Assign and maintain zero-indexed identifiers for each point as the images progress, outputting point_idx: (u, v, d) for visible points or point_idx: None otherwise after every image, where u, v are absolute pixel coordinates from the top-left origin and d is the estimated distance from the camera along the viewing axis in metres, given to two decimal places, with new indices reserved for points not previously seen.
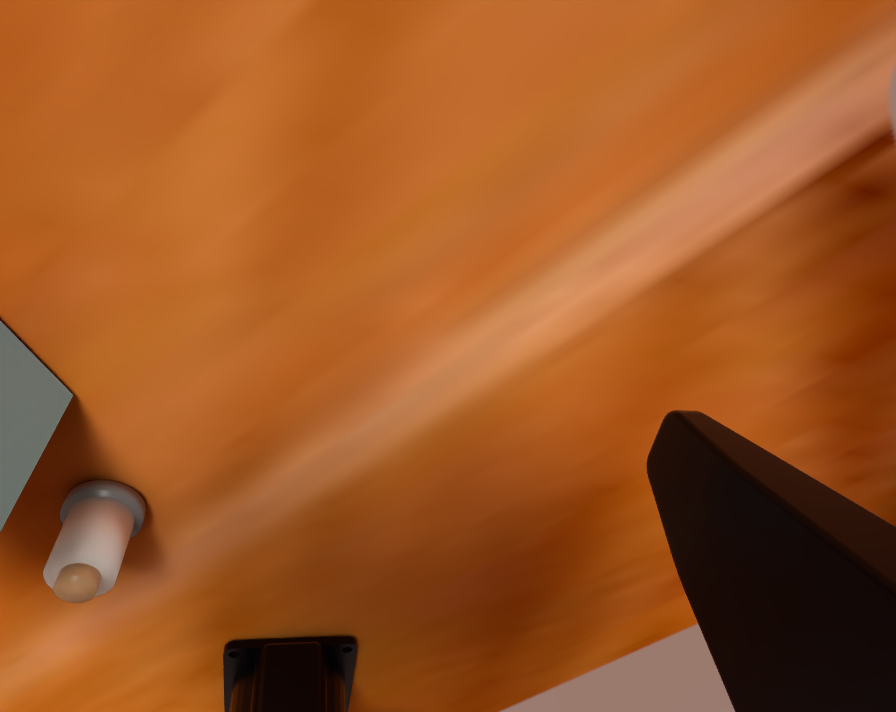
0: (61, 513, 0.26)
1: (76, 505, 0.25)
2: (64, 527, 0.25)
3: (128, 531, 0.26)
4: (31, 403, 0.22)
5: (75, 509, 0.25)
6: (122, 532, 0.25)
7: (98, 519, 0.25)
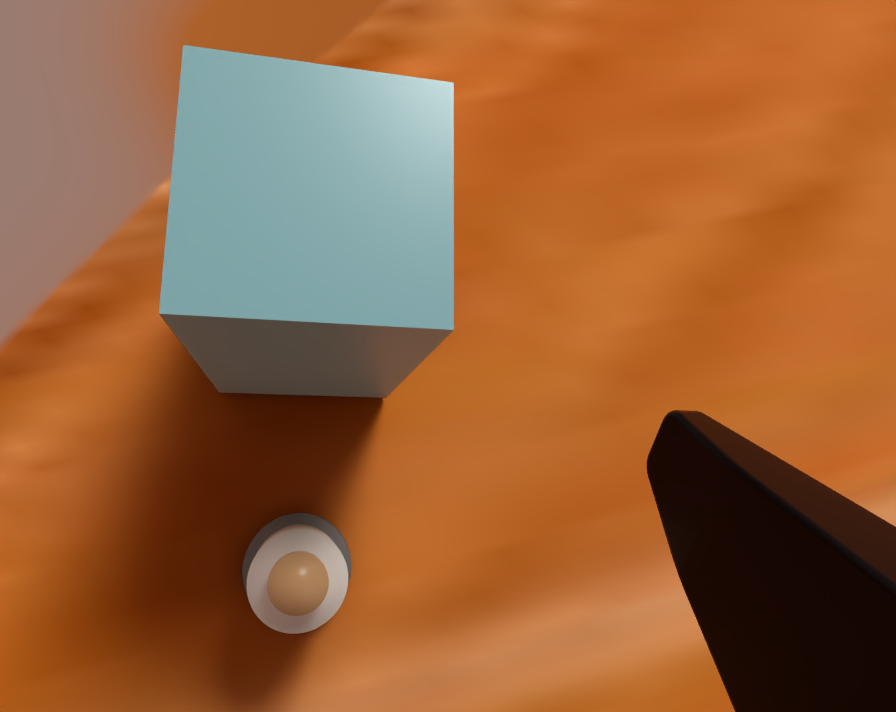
0: (260, 532, 0.19)
1: (294, 524, 0.19)
2: (287, 528, 0.18)
3: None
4: None
5: (297, 525, 0.18)
6: None
7: (331, 540, 0.18)
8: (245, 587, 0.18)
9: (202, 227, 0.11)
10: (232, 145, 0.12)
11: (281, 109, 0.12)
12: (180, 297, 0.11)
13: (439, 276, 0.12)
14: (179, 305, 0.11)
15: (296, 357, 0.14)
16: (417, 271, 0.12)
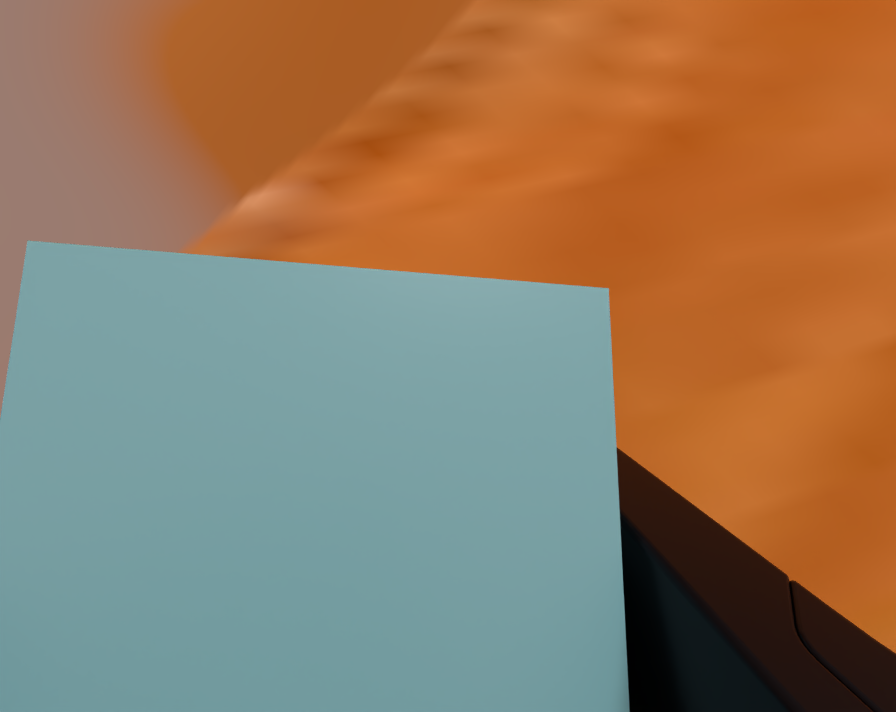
0: None
1: None
2: None
3: None
4: None
5: None
6: None
7: None
8: None
9: (47, 709, 0.05)
10: (132, 478, 0.05)
11: (249, 379, 0.05)
12: None
13: None
14: None
15: None
16: None
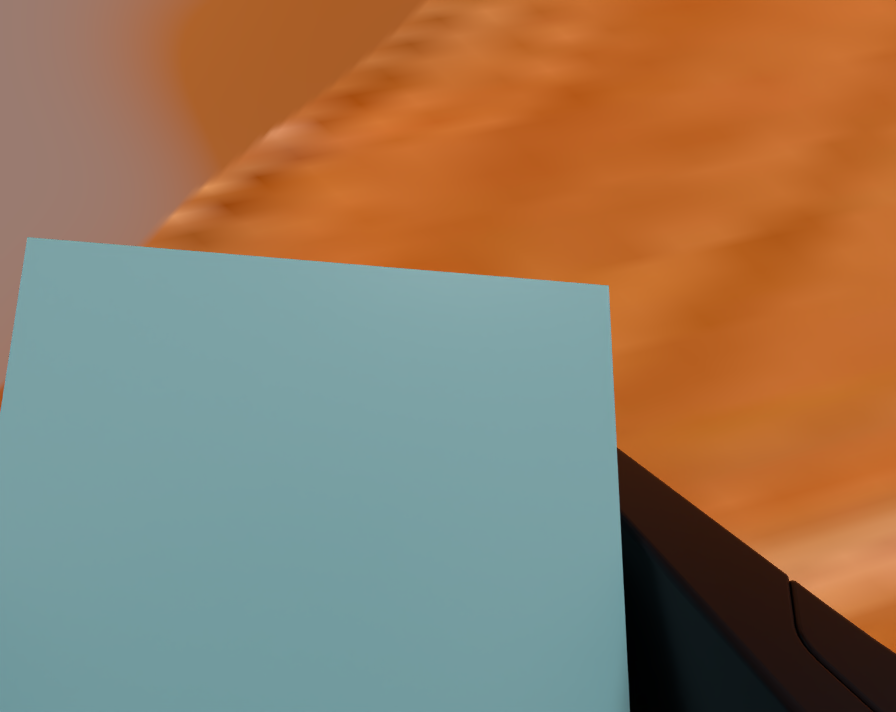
0: None
1: None
2: None
3: None
4: None
5: None
6: None
7: None
8: None
9: (47, 706, 0.05)
10: (132, 475, 0.05)
11: (250, 376, 0.05)
12: None
13: None
14: None
15: None
16: None
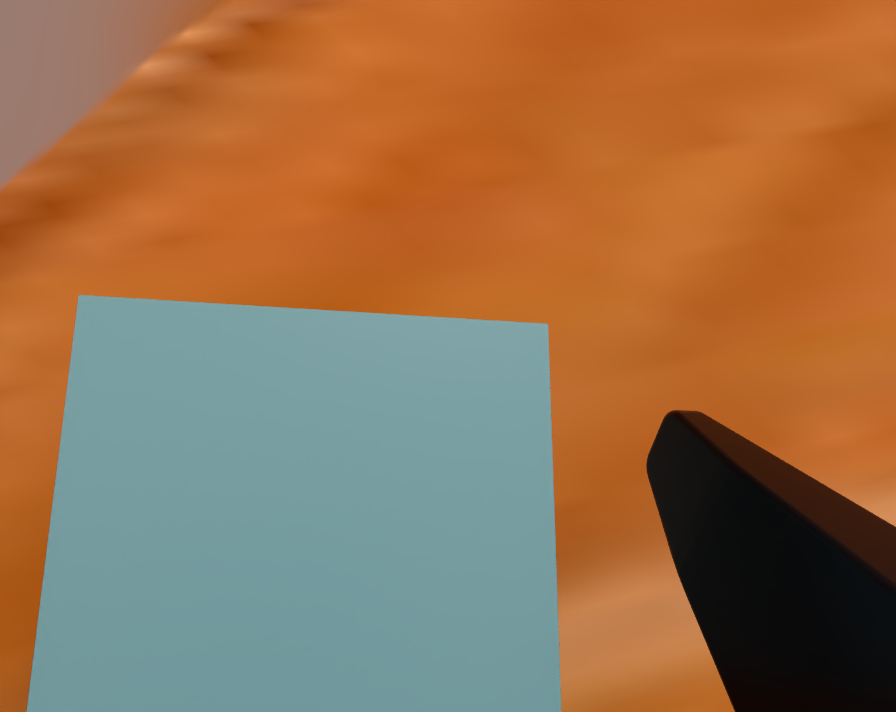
0: None
1: None
2: None
3: None
4: None
5: None
6: None
7: None
8: None
9: (102, 660, 0.06)
10: (164, 482, 0.06)
11: (255, 402, 0.07)
12: None
13: (536, 698, 0.07)
14: None
15: None
16: (499, 695, 0.07)
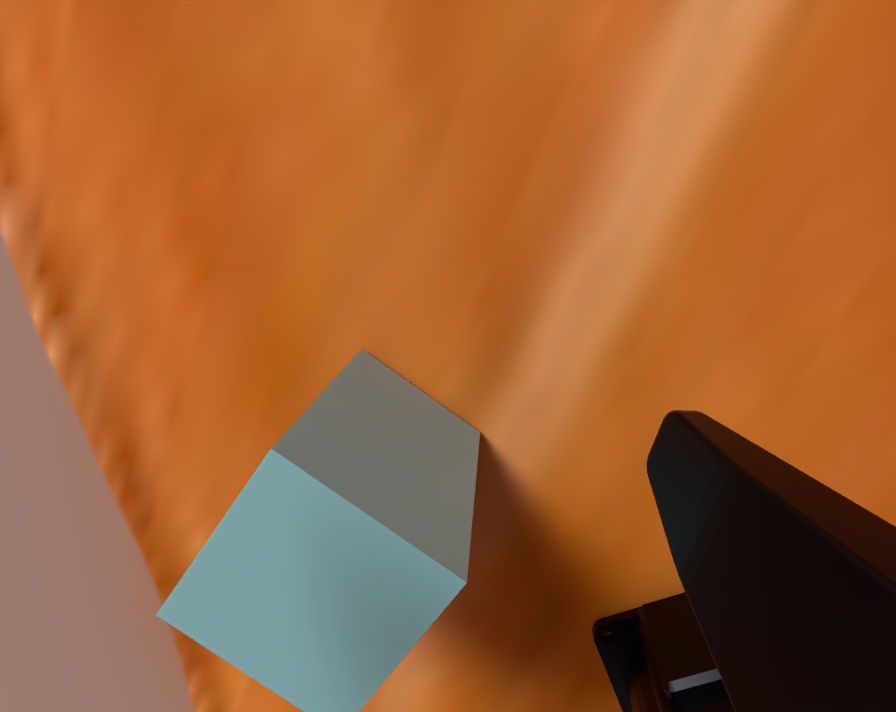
0: None
1: None
2: None
3: None
4: (449, 431, 0.21)
5: None
6: None
7: None
8: None
9: (296, 681, 0.15)
10: (246, 630, 0.15)
11: (234, 585, 0.14)
12: None
13: (421, 565, 0.14)
14: None
15: None
16: (408, 577, 0.14)
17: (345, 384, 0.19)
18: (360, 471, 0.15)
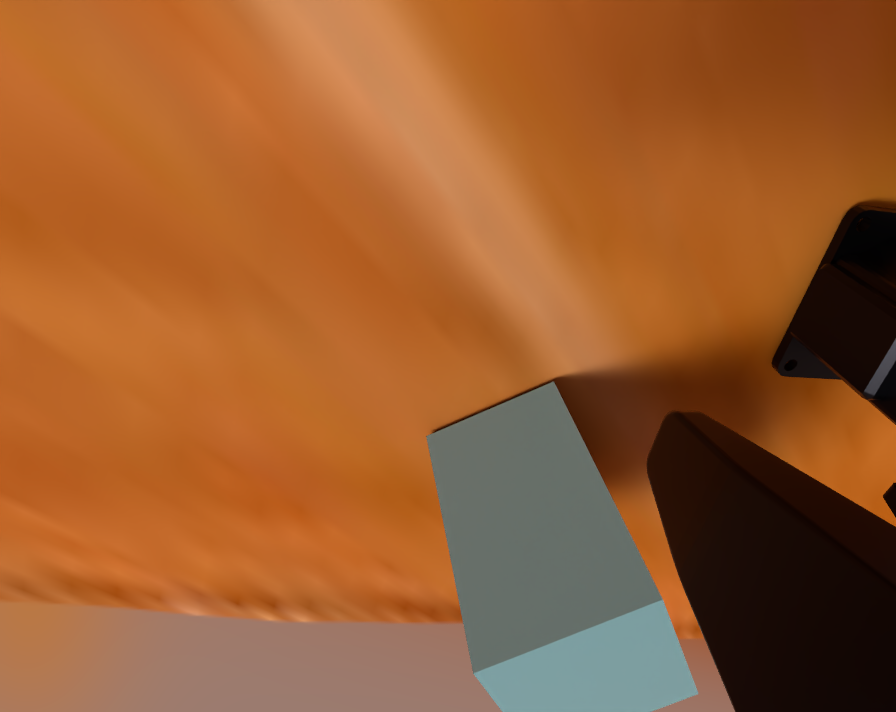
0: None
1: None
2: None
3: None
4: (537, 426, 0.22)
5: None
6: None
7: None
8: None
9: (642, 704, 0.19)
10: None
11: None
12: (686, 692, 0.19)
13: (626, 620, 0.16)
14: (691, 691, 0.19)
15: None
16: (628, 629, 0.16)
17: (451, 506, 0.21)
18: (528, 596, 0.17)
